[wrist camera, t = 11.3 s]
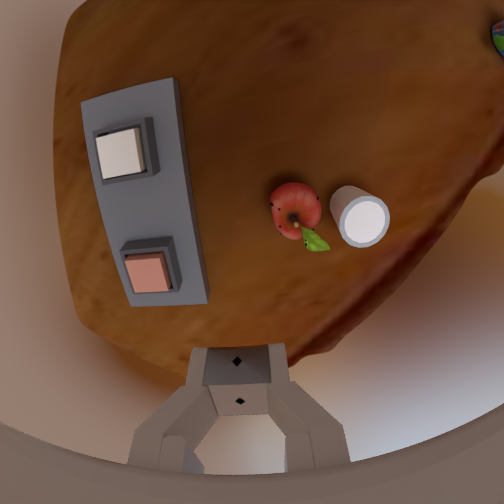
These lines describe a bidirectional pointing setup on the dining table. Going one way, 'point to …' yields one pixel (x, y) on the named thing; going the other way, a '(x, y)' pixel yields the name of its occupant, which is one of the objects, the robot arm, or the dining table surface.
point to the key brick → (148, 271)
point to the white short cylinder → (359, 216)
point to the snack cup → (498, 36)
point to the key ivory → (121, 153)
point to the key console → (149, 190)
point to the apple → (298, 214)
